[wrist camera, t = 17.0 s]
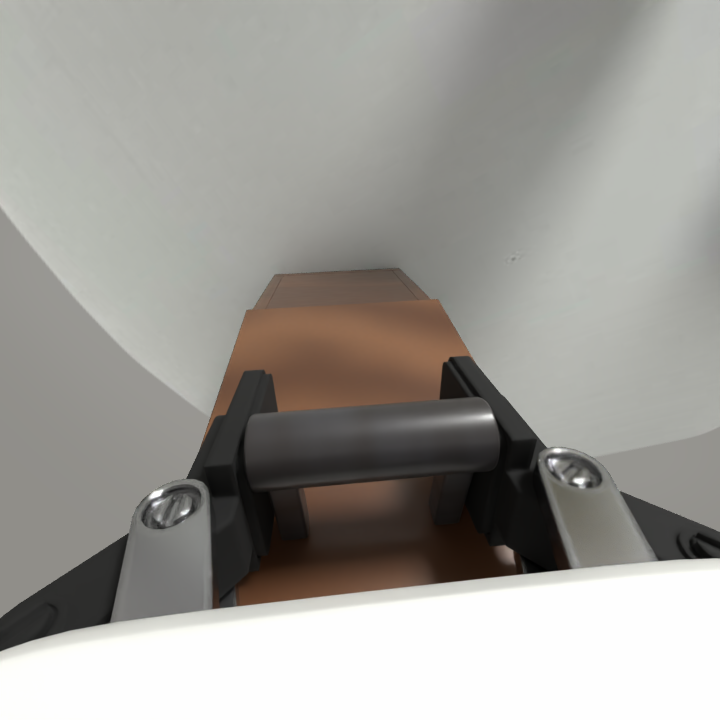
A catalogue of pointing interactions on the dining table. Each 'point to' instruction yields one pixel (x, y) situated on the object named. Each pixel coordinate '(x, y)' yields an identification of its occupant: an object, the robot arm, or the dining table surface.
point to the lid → (362, 451)
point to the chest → (339, 289)
